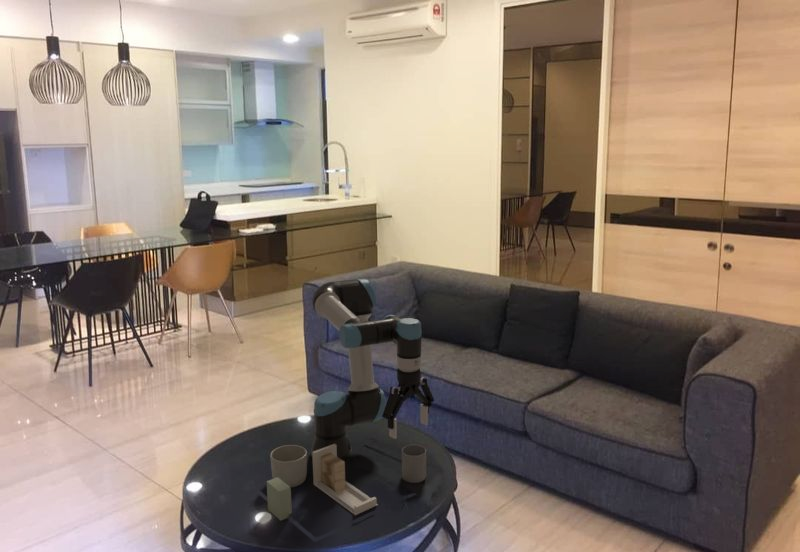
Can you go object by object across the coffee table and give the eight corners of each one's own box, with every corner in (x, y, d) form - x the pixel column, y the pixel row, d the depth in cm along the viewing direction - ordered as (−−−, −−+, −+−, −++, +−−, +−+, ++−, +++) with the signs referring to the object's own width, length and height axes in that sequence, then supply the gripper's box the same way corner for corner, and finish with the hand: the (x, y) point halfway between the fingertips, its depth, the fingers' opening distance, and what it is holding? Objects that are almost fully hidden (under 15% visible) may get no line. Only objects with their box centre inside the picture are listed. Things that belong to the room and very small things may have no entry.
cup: (423, 483, 224) (423, 457, 222) (400, 481, 226) (399, 455, 224) (427, 471, 233) (427, 445, 230) (404, 469, 234) (404, 443, 232)
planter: (291, 495, 218) (290, 465, 215) (264, 485, 224) (262, 456, 222) (315, 479, 228) (314, 450, 226) (288, 469, 234) (287, 441, 232)
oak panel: (322, 483, 223) (321, 456, 221) (331, 479, 226) (331, 452, 223) (335, 493, 217) (334, 465, 215) (345, 489, 220) (344, 461, 217)
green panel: (268, 509, 210) (266, 481, 208) (279, 505, 212) (277, 477, 210) (280, 520, 204) (279, 491, 202) (291, 515, 206) (290, 487, 204)
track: (313, 486, 223) (312, 451, 220) (335, 477, 229) (334, 443, 226) (355, 518, 205) (354, 480, 202) (378, 507, 211) (377, 470, 208)
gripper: (386, 381, 194) (387, 447, 199) (445, 361, 210) (444, 422, 215) (370, 374, 199) (371, 438, 204) (428, 355, 215) (428, 415, 220)
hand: (408, 430), depth 209 cm, fingers open, 13 cm apart
